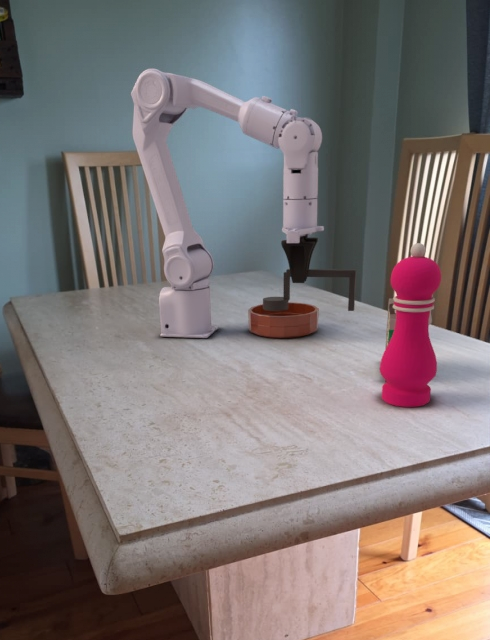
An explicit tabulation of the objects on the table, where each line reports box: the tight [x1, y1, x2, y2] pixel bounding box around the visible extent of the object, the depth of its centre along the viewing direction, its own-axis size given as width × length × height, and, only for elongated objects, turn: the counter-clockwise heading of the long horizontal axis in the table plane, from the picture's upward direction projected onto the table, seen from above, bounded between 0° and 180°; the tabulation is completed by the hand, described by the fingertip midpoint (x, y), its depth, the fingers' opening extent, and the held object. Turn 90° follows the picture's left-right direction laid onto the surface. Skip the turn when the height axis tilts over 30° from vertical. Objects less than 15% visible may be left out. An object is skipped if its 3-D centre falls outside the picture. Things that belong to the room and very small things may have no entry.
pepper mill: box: [379, 242, 442, 408], centre depth 79 cm, size 7×7×20 cm
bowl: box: [247, 301, 319, 339], centre depth 119 cm, size 13×13×4 cm
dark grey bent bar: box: [262, 268, 357, 312], centre depth 110 cm, size 16×5×7 cm, turn 76°
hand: (299, 281), depth 110 cm, fingers closed on dark grey bent bar
